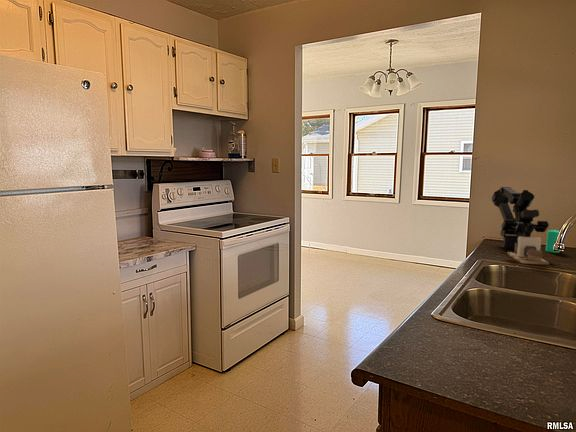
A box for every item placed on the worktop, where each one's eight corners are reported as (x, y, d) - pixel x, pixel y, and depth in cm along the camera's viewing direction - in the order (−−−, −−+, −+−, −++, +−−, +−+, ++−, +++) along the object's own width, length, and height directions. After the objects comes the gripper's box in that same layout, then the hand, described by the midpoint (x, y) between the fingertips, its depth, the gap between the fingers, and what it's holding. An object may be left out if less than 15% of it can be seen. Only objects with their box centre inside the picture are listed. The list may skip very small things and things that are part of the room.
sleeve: (516, 255, 183) (518, 236, 182) (537, 256, 181) (539, 237, 180) (519, 257, 180) (521, 237, 178) (540, 258, 178) (542, 238, 177)
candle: (555, 250, 202) (558, 227, 200) (562, 252, 196) (565, 229, 194) (543, 249, 202) (545, 226, 201) (549, 252, 196) (552, 228, 195)
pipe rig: (507, 253, 192) (508, 242, 191) (532, 255, 190) (533, 243, 189) (521, 263, 174) (522, 250, 173) (548, 264, 172) (550, 251, 171)
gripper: (505, 202, 186) (511, 229, 177) (549, 203, 182) (558, 231, 173) (498, 216, 195) (504, 243, 185) (540, 218, 191) (548, 245, 182)
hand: (528, 240), depth 181 cm, fingers closed, pressing on sleeve
